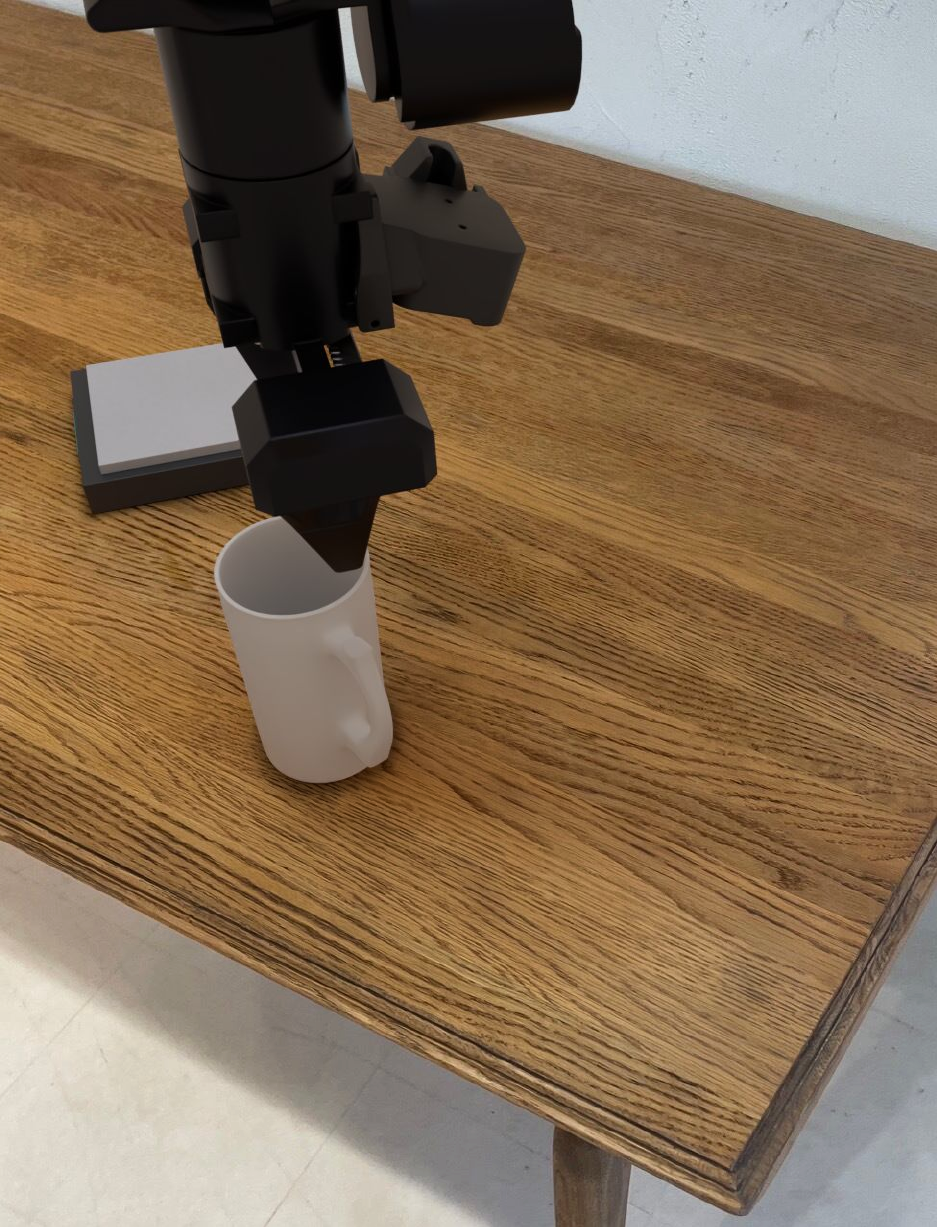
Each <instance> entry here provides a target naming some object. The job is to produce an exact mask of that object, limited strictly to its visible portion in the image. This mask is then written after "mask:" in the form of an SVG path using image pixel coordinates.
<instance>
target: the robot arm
mask: <svg viewBox="0 0 937 1227" xmlns="http://www.w3.org/2000/svg"><path fill="white" fill-rule="evenodd" d="M82 4H83V9H84V14H85V20H86V22H87V25H88V26H89V28H90V29H91V30H93V31H94V32H97V33H99V34H107V33H108V34H110V33H118V32H120V33H121V32H130V31H139V30H150V29H152V30H153V34H154V40H155V44H156V48H157V52H158V57H159V62H160V67H161V71H162V75H163V76H162V77H163V81H164V85H165V90H166V94H167V98H168V104H169V107H170V112H171V116H172V121H173V127H174V130H175V135H176V140H177V144H178V148H177V151H178V155H179V160H180V166H181V169H182V173H183V174H182V175H183V178H184V182H185V186H186V189H187V190H186V191H187V192H188V197H187V200H186V201H185V202H184V203H183V205H182V206H181V211H182V214H183V219H184V223H185V228H186V232H187V236H188V237H187V238H188V241H189V246H190V249H191V253H192V258H193V263H194V266H195V270H196V273H197V274H196V275H197V278H198V279H200V283H201V286H202V287H201V288H202V291H203V294H204V298H205V302H206V305H207V306H208V307H209V310H211V312H212V314H213V315H214V317H215V318H216V322H217V326H218V327H217V328H218V330H219V335H220V338H221V343H223V346H224V348H230V347H236V348H237V350H238V351H239V353H240V354H241V356H242V357H243V359H244V360H245V362H246V364H247V365H248V367H249V368H250V370H251V371H252V373H253V374H254V376H255V377H256V379H257V380H254V381H253V382H252V383H251V385H250V386H249V387H248V388H247V389H246V391H245V392H244V393H243V394H242V395H241V396H240V398H239V399H238V400H237V401H236V402H235V404H234V405H233V406H232V412H233V416H234V421H235V425H236V430H237V434H238V439H239V443H240V447H241V452H242V456H243V460H244V464H245V468H246V473H247V477H248V481H249V484H248V485H249V489H250V493H251V497H252V501H253V506H254V508H255V511H258V512H261V513H263V514H266V515H268V516H272V517H278V516H281V517H282V518H283V519H284V520H285V521H286V522H287V523H288V524H289V525H290V526H291V527H292V528H293V529H294V530H295V531H296V532H297V533H298V534H299V535H300V536H301V537H302V538H303V539H304V540H305V541H306V542H307V543H308V544H309V545H310V546H311V547H312V549H313V550H314V551H315V552H316V553H317V554H318V555H319V556H320V557H321V558H322V559H323V560H324V561H325V562H326V563H327V564H328V565H329V567H330V568H331V569H332V570H333V571H334V572H336V573H342V572H347V571H352V570H357V569H359V568H361V567H362V566H363V562H364V558H365V554H366V550H367V548H368V545H369V541H370V537H371V533H372V529H373V525H374V521H375V516H376V513H377V510H378V506H379V502H380V500H381V497H384V496H389V495H394V494H399V493H403V492H410V491H414V490H419V489H424V488H426V487H428V485H430V483H431V482H432V481H433V480H434V479H435V478H436V476H438V462H437V452H436V440H435V430H434V428H433V426H432V424H431V422H430V419H429V417H428V414H427V412H426V409H425V407H424V404H423V402H422V400H421V397H420V395H419V392H418V390H417V388H416V385H415V383H414V380H413V378H412V376H411V375H410V374H409V373H407V372H405V371H404V370H403V369H401V368H399V367H397V366H396V365H394V364H392V363H391V362H389V361H388V360H386V359H384V358H383V357H382V358H376V359H370V360H365V361H364V360H363V358H362V355H361V353H360V350H359V347H358V344H357V343H356V340H355V337H354V334H353V331H352V329H351V328H357V327H358V331H359V332H361V333H363V334H366V333H371V332H372V333H373V332H378V331H383V330H391V329H396V322H395V321H396V320H395V313H394V312H395V311H394V305H396V306H398V307H400V308H402V309H405V310H410V311H414V312H420V313H426V314H433V315H439V316H447V317H452V318H459V319H465V320H469V321H470V323H471V324H472V325H473V326H479V327H487V328H488V327H497V326H499V325H500V324H502V321H503V319H504V315H505V312H506V309H507V307H508V304H509V301H510V299H511V298H510V297H511V295H512V292H513V290H514V287H515V283H516V281H517V277H518V276H519V275H518V274H519V272H520V269H521V266H522V263H523V261H524V257H525V254H526V251H527V246H526V244H525V241H524V240H523V238H522V236H521V235H520V232H518V230H517V228H516V226H515V225H514V223H513V221H512V220H511V218H510V216H509V214H508V213H507V211H506V209H505V208H504V206H503V205H502V204H501V203H500V202H498V200H496V199H494V198H492V197H491V196H489V194H488V192H487V191H486V190H485V189H486V188H484V186H483V185H478V184H473V186H472V188H471V190H469V189H468V184H467V179H466V173H465V168H464V165H463V164H464V163H463V162H462V160H461V158H460V157H459V155H458V153H457V151H456V149H455V147H454V146H453V144H452V143H450V142H448V141H444V140H441V139H435V138H432V137H427V136H422V135H418V136H416V137H415V138H414V139H413V141H412V142H411V143H410V144H409V145H408V146H407V147H406V148H405V150H404V151H403V152H401V154H400V155H399V156H398V157H397V159H396V160H395V161H394V162H393V163H392V164H391V165H390V166H388V165H386V166H384V168H383V172H382V174H381V175H379V174H371V173H364V172H362V171H361V164H360V155H359V151H358V149H357V146H356V144H355V140H354V131H353V124H352V115H351V107H350V98H349V96H350V95H349V89H348V81H347V79H348V78H347V71H346V64H345V55H344V47H343V38H342V28H341V20H340V11H339V9H340V10H341V9H348V8H349V9H350V10H349V11H350V20H351V28H352V35H353V43H354V48H355V54H356V59H357V62H358V68H359V69H358V70H359V72H360V77H361V81H362V83H363V84H362V85H363V87H364V90H365V93H366V95H367V98H368V100H369V101H370V102H371V103H372V104H376V103H385V102H386V103H387V102H389V101H390V99H391V98H393V99H394V104H395V110H396V114H397V118H398V121H399V123H400V124H403V125H404V127H405V128H406V129H407V130H408V131H418V130H427V129H435V128H442V127H450V126H458V125H459V126H460V125H467V124H473V123H474V124H475V123H481V122H482V123H483V122H489V121H498V120H506V119H514V118H522V117H529V116H538V115H546V114H554V113H561V112H568V111H570V110H571V109H572V108H573V107H574V105H575V104H576V100H577V98H578V95H579V90H580V85H581V80H582V69H583V68H582V67H583V37H582V32H581V30H580V29H579V27H578V26H577V25H576V21H575V19H576V18H575V11H574V10H575V9H574V3H573V0H82ZM325 346H326V348H327V349H328V354H329V356H330V360H331V362H332V365H331V362H330V360H329V356H328V354H327V350H326V348H325Z"/></svg>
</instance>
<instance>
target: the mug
mask: <svg viewBox="0 0 937 1227" xmlns="http://www.w3.org/2000/svg"><path fill="white" fill-rule="evenodd" d="M370 557H371V556H370V551H369V548H368V547H367V550H366V554H365V558H364V562H363V566H362V567H361V568H359V569H357V570H352V571H347V572H342V573H336V572H334V571H333V570H332V569H331V568H330V567H329V565H328V564H327V563H326V562H325V561H324V560H323V559H322V558H321V557H320V556H319V555H318V554H317V553H316V552H315V551H314V550H313V549H312V547H311V546H310V545H309V544H308V543H307V542H306V541H305V540H304V539H303V538H302V537H301V536H300V535H299V534H298V533H297V532H296V531H295V530H294V529H293V528H292V527H291V526H290V525H289V524H288V523H287V522H286V521H285V520H284V519H283V518H282V517H281V516H278V517H274V516H272V517H269V518H266V519H263V520H260V521H257V522H255V523H253V524H251V525H249V526H246V527H245V528H243V529H242V530H240V531H239V532H238V533H236V534H235V535H234V536H232V538H231V539H230V540H229V541H228V542H226V544H225V545H224V546H223V547H222V549H221V550H220V551H219V554H218V556H217V558H216V560H215V563H214V568H213V569H214V570H213V578H214V584H215V587H216V589H217V592H218V598H219V601H220V605H221V609H222V613H223V616H224V620H225V622H226V626H227V631H228V633H229V638H230V640H231V644H232V647H233V651H234V653H235V654H234V655H235V656H236V659H237V660H236V661H237V663H238V667H239V670H240V673H241V677H242V680H243V684H244V687H245V691H246V694H247V698H248V700H249V705H250V708H251V712H252V715H253V719H254V722H255V724H256V727H257V731H258V733H259V737H260V740H261V743H262V746H263V750H264V753H265V754H266V757H267V759H268V760H269V762H270V763H271V764H272V766H273V767H274V768H276V770H277V771H278V772H280V773H281V774H283V775H284V776H287V777H288V778H290V779H294V780H297V781H300V782H302V783H303V782H304V783H308V784H309V783H310V784H327V783H334V782H339V781H342V780H345V779H347V778H350V777H353V776H354V775H357V774H359V773H360V772H362V771H363V770H365V769H366V768H374V767H377V766H378V765H379V764H381V763H383V762H385V761H386V760H387V759H388V758H389V754H390V751H391V747H392V744H393V740H394V739H393V738H394V725H393V718H392V712H391V708H390V707H391V706H390V703H389V700H388V695H387V692H386V688H385V679H384V671H383V663H382V653H381V645H380V644H381V643H380V635H379V634H380V633H379V624H378V615H377V606H376V598H375V597H376V596H375V588H374V581H373V574H372V570H371V564H370V563H371V558H370Z"/></svg>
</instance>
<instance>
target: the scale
mask: <svg viewBox="0 0 937 1227" xmlns="http://www.w3.org/2000/svg"><path fill="white" fill-rule="evenodd" d="M69 374H70V384H71V393H72V399H71V404H72V416H73V426H74V433H75V443H76V452H77V458H78V462H79V463H78V464H79V465H80V474H81V482H82V488H83V491H84V494H85V497H86V499H87V503H88V506H89V509H90V511H91V514H92V515H96V514H100V513H101V514H102V513H105V512H106V513H107V512H111V511H115V510H121V509H127V508H131V507H137V506H141V505H147V504H152V503H153V504H154V503H159V502H163V501H169V500H174V499H179V498H184V497H189V496H194V495H199V494H206V493H210V492H216V491H222V490H226V489H227V490H228V489H231V488H236V487H241V486H248V485H249V481H248V477H247V473H246V468H245V464H244V460H243V456H242V452H241V447H240V443H239V439H238V434H237V430H236V425H235V421H234V416H233V412H232V406H233V405H234V404H235V402H236V401H237V400H238V399H239V398H240V396H241V395H242V394H243V393H244V392H245V391H246V389H247V388H248V387H249V386H250V385H251V383H252V382H253V381H254V380H257V379H256V377H255V376H254V374H253V373H252V371H251V370H250V368H249V367H248V365H247V364H246V362H245V360H244V359H243V357H242V356H241V354H240V353H239V351H238V350H237V348H236V347H230V348H224V346H223V342H221V343H215V344H208V345H202V346H196V347H190V348H183V349H178V350H177V349H176V350H171V351H166V352H159V353H153V354H147V355H140V356H133V357H129V358H122V359H116V360H110V361H103V362H98V363H92V364H86V365H85V368H82V369H75V370H70V371H69Z"/></svg>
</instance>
